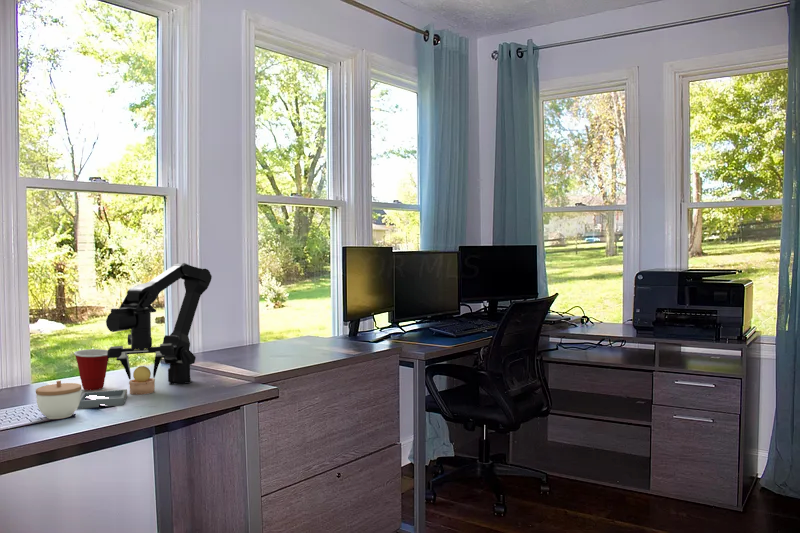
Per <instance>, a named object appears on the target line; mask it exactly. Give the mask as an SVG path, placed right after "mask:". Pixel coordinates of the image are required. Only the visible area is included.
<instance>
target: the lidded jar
mask: <svg viewBox="0 0 800 533" xmlns="http://www.w3.org/2000/svg"><path fill="white" fill-rule="evenodd" d="M81 395H82V383H81V384H80V383H77V382H64V383H63V382H62V381H61V380H57V381H56V383H53V384H48V385H44V386H40V387H39V386H38V387H37V388H36V389H35V396H36V397H35V398H36V405H37V408H38V410H39V412H40V413H41V414H42V415H43V416H45V417H46V419H48V420H60V419H66V418H69V417H70V418H71V417H72V416H73V414H74V413H75V412H76V411H77V410H78V409H77V408H78V406H79V404H80V400H81Z"/></svg>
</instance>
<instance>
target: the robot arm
mask: <svg viewBox="0 0 800 533" xmlns="http://www.w3.org/2000/svg"><path fill="white" fill-rule="evenodd" d="M212 278H213V276H212V274H211V272H210V270H209V269H208V268H200V267H197V266H193V265H190V264H188V263H186V262H184V263H183V262H182V263H181V262H179V263H178V262H176V263H173V265H172V266H170V267H169V268H168V269H166V270H164V271H163V272H162V273H160V274H158V275H157V276H156V277H154V278H152V279H151V280H149V281H147V282H144V283H141V284H138V285H137V284H136V285H134V286H133V287H130V288H129V289H128V290H127V291H126V295H125V298H124V300H123V301H122V303H121V304H120V307H119V308H110V313H109V314H108V315H107V317H106V320H105V324H106V327H107V329H108V330H109V332H111V333H115V332H123V331H129V330H130V333H129V334H127V345H128V346H130V347H128V348H124V346H123V345H120V346H119V345H117V346H115V345H114V346H110V347H109V348H108V349H107V350H108V352H107V356H108V358H109V359H115V360H116V361H119V362H120V363H121V365H122V367H123V368H124V370H125V373H126V375H127V378H128V379H129V381H130V380H132V373H131V366H130V360H129V355H139V354H141V355H142V354H153V353H154V354H155V356H154V363H153V372H152V374H153V375H152V376H153V378H154V379H155V377H156V374H157V371H158V367H159V365H160V363H161V361H162V359H163V360H164V363H165V365H167V364H168V365H169V367H168V368H167V377H168V378H167V379H168V380H167V382H168V383H169V385H181V384H191V382H192V381H191V380H192V379H191V378H192V377H191V365H193V364H195V361H196V358H197V357H196V355H194V353H193V352H191V350H190V349H191V348H190V347H191V341H190V338H189V337H190V336H189V334H190V331H191V329H192V328H191V327H192V325H193V322H194V319H195V318H194V317H195V315H196V312H197V308H198V305H199V301H200V298H201V296H202V295H203V294H204V293H205V292H206V290H207V289H208V288H209V286H210V284H211V281H212ZM180 279H181V280H184V281H183V286H184V290H185V292H184V297H183V300H182V303H181V306H180V309H179V312H178V315H177V319H176V320H175V324H174V328H173V331H172V332H171V333H170V334H169V335H167V334H166V335H164V337H163V341H162V343H160V344H159V346H153V339H152V338H153V337H152V325H151V324H152V320H151V319H152V317H151V316H152V315H151V313H156V312H157V309H155V308H154V307H153V306H152V304H153V303H154V302H155V301H156V300H157V299H158V297H159V294H161V293H162V292H163V291H164V290H166V289H167V288H169V287H170V286H171V285H173V284H174V283H176V282H177V281H178V280H180Z"/></svg>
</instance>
